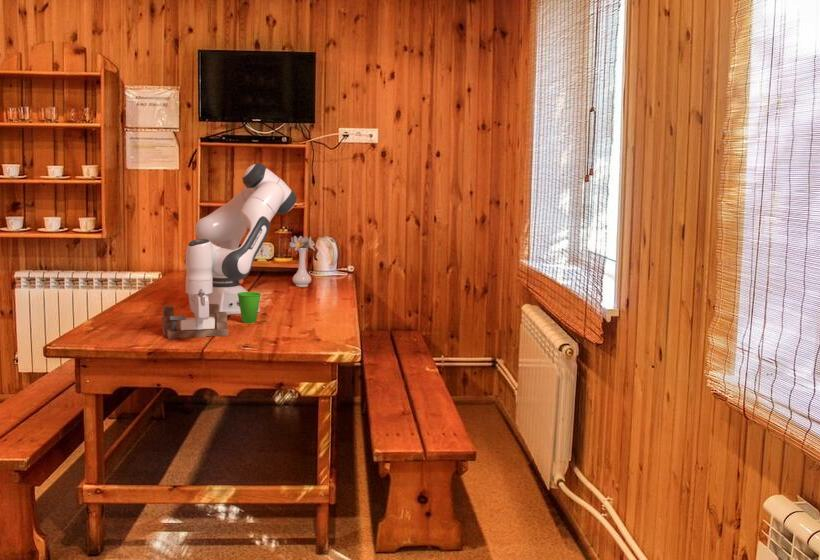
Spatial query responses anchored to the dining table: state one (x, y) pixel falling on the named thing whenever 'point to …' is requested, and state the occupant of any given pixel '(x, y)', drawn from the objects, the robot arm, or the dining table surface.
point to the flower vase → (302, 260)
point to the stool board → (174, 331)
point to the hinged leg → (193, 322)
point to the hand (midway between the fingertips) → (199, 327)
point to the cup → (249, 306)
